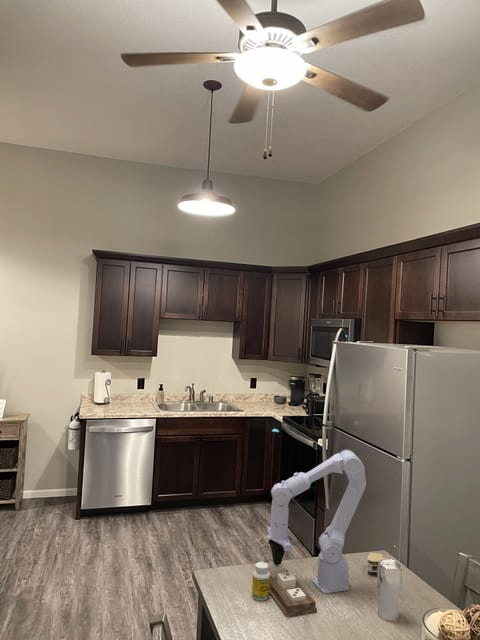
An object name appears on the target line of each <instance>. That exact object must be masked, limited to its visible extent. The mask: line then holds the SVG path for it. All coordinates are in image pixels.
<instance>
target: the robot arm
mask: <svg viewBox="0 0 480 640" xmlns="http://www.w3.org/2000/svg"><path fill="white" fill-rule="evenodd" d="M365 470H366V468H365V465H364V464H363V462H362V460H361V458H359V457H358V456H357V455H356V454H355V453H354V452H353V451H352V450H350V449H344V450H342V451H340V452H338V453H335V454H333V455H332V456H331V457H329V458H328V459H326V460H325V461H323V462H322V463H320V464H318V465H317V466H316V467H314V468H312V469H311V470H309V471H307V472H302V471H301V472H297V471H296V472H295V473H293V476H292V477H289V478H288V479H286V480H281V482H278V483H275V484H274V485H273V487H272V488H271V490H270V492H271V497H272V499H271V500H272V501H271V508H270V526H267V527H266V528H267V529H266V533H267V534H266V539H268V541H267V543H268V545H269V548H270V551H271V557H272V563H274V564H275V565H280V564H281V563H282V562H283V558H284V556H285V553H286V552H290V551H291V550H292V549H291V548H292V544H291V543H290V540H289V535H288V526H289V511H290V509H289V503H290V502H291V499H292V498H295V497H296V496H298V495H300V494H301V493H304V492H306V491H307V490H308V489H310V488H311V484H312V483H313V482H315V481H317V480H320V479H321V478H324V477H325V476H328V475H329V474H331V473H335V474H336V473H337V474H340V475H341V474H342V475H343V471H344V473H345V475H346V477H347V480H348V485H347V487H346V490H345V491H344V494H343V496H342V498H341V500H340V503H339V506H338V507H337V510H336V512H335V515H334V517H333V518H332V521H331V524H329V526H327V527H326V530H325V531H324V532H323V533H322V534H321V535H320V536H319V537H318V545H319V547H320V552H319V554H318V561H317V562H318V563H317V564H318V565H317V578H316V579H312V580H311V581H312V583H313V584H314V585H315V586H316V587H317V588H318V589H319V591H321V592H322V593H323V594H330V593H337V592H342V591H343V592H344V591H350V587H349V571H350V570H349V564H348V561H347V559H346V558H345V557H344V556H343V548H344V545H345V536H346V533H347V530H348V528H349V526H350V523H351V521H352V519H353V518H354V517H353V516H354V515H355V512H356V511H357V507H358V506H359V504H360V500H361V499H362V496H363V494H364V492H365V491H366V490H365V489H366V487H367V480H366V473H365V472H366V471H365Z"/></svg>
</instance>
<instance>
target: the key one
mask: <svg viewBox="0 0 480 640" xmlns="http://www.w3.org/2000/svg"><path fill="white" fill-rule="evenodd" d="M267 564H268V571H269V573H270V576H271V577H272V578H273V579H274V578H277V574H279V573H286V569H287V567H286V566H285V565H284V564H283V563H282V562H281V564H280V565H275V564H274V562H269V563H267Z"/></svg>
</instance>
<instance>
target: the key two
mask: <svg viewBox="0 0 480 640" xmlns="http://www.w3.org/2000/svg"><path fill="white" fill-rule="evenodd" d="M296 580H297V578H296V577H295V576H294V575H293V574H292V573H291V572H290V571H289V572H287V573H279V574H277V584H278V586H279V587H280V588H281V589H282V590H286V589H292V588H295V586H296Z"/></svg>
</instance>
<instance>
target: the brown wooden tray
mask: <svg viewBox="0 0 480 640" xmlns="http://www.w3.org/2000/svg"><path fill="white" fill-rule="evenodd" d="M287 572H290V571H289V570H288V569H287V568H286V573H287ZM296 588H300V589H301V590H302V591H303V593H304V594H305V595H306V600H305V601H299V602H291V600H290V599H289V598H288V597H287V595H286V590H289V589H286V590H282V589H281V588H280V587H279V586H278V584H277V578H274V579H273V578H272V577H271V576H270V588H269V597H270V598H271V599H272V600H273V601H274V604H276V606H277V607H278V608H279V610H280V611H281V612H282V613H283V615H284V616H285V618H288V617H289V618H290V617H295V616H302V615H307V614H314V613H318V608H317V606H316V604H317V603H316V600H315V599H314V598H313V597H312V596H311V595H310V594H309V592H308V591H307V590H306V589H305V588H304V587H303V585H301V584H300V582H299V581H298V580H297V579H296V586H295V588H292V589H296Z"/></svg>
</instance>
